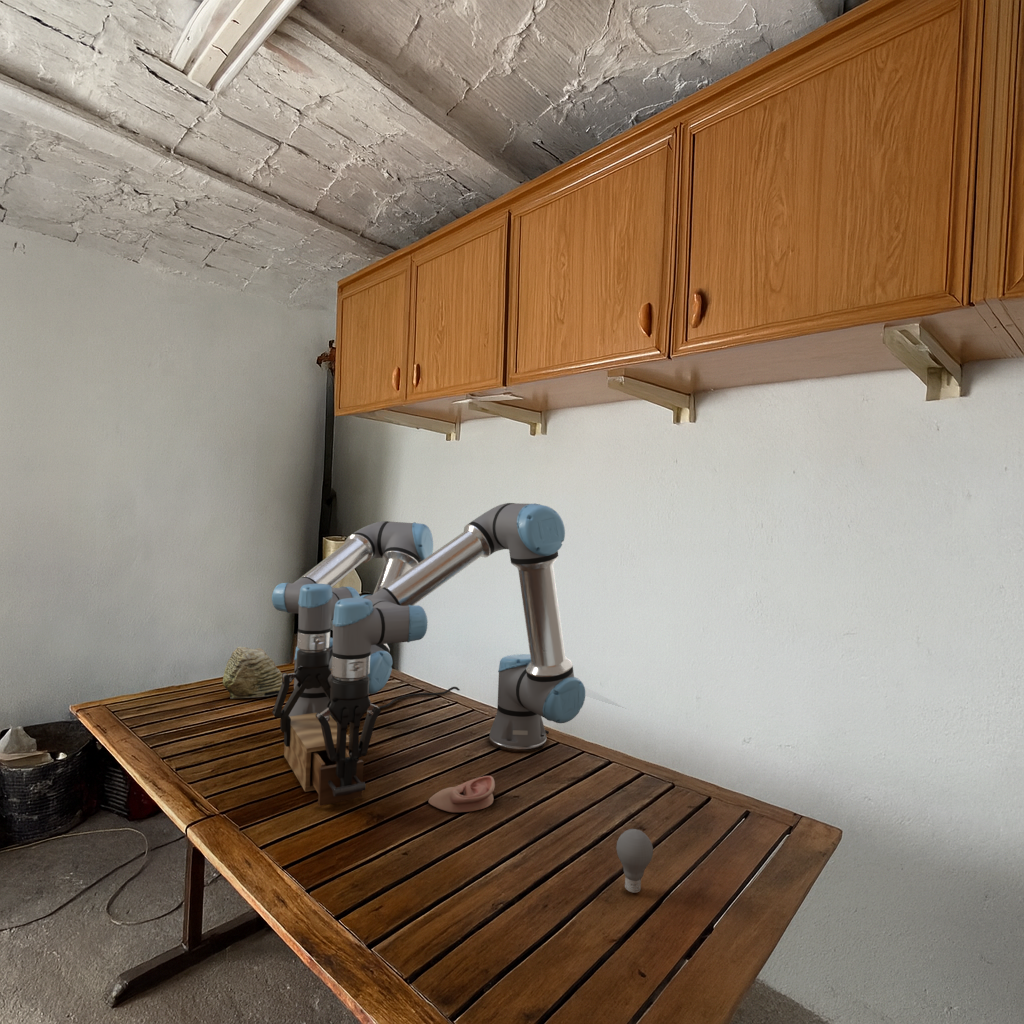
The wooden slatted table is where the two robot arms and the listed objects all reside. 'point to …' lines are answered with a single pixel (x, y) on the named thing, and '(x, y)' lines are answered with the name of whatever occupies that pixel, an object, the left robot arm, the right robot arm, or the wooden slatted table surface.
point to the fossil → (251, 674)
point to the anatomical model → (465, 796)
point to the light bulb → (634, 857)
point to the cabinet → (307, 745)
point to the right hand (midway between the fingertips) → (345, 791)
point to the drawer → (333, 779)
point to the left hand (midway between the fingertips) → (310, 740)
